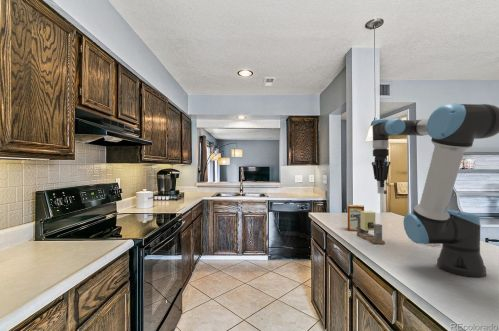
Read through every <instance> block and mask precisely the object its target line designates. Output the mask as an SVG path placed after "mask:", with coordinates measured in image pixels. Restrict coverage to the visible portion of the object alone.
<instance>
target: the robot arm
mask: <svg viewBox="0 0 499 331" xmlns="http://www.w3.org/2000/svg"><path fill="white" fill-rule="evenodd" d="M371 128H372V156H373V157H374V161H372V162H371V166H372V170H373V177H374V180H375V181H377V182H376V184H377V194H385V181H388V178H389V177H388V176H389V170H390V165H391V161H389V160H388V158H387V157H388V156H389V155H390V153H389V152H390V150H389V137H391V136H418V137H419V136H420V137H422V136H430V138H431V140H430V141H431V143H432V144H433V146H434V149H433V152H432V155H431V159H430V163H429V167H428V170H427V171H428V172H427V175H426V178H425V183H424V185H423V191H422V193H421V198H420V202H419V204H416V205H415V206H413V210H412V213H407V214H405V216H404V217H403V228H404V231H405V234H406V236H407V237H408V239H409V240H411V241H412V242H413V243H415V244H419V245H426V244H440V245H441V244H442V246H441V249H440V252H439V256H438V257H437V261H436V266H437V267H438V268H440V269H441V270H444V271H445V272H448V273H450V274H454V275H458V276H463V277H471V278H481V277H483V278H484V277H485V276H487V267H486V266H485V264H484V261H483V258H482V255H481V225H482V224H481V220H480V217H479V215H477V214H476V213H471V212H467V211H461V210H454V209H448V207H449V203H450V200H451V197H452V193H453V190H454V187H455V183H456V180H457V177H458V173H459V172H460V167H461V163H462V161H463V158H464V154H465V151H467V150H468V149H470V148H472V146H473V144H474V140H476V139H479V140H480V139H481V140H482V139H488V138H491V137H494V136H496V135H498V134H499V107H498V106H497V105H494V104H493V105H492V104H488V103H481V104H479V103H476V104H475V103H473V104H472V103H452V104H451V103H450V104H443V105H440V106H439V107H437V108H436V109H434V110H433V111H432V112H431V114H430V116H429V117H428V118H424V119H423V118H422V119H410V120H409V119H401V118H392V119H390V120H389V119H387V118H379V119H375V120H373V121H372V126H371Z"/></svg>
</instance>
